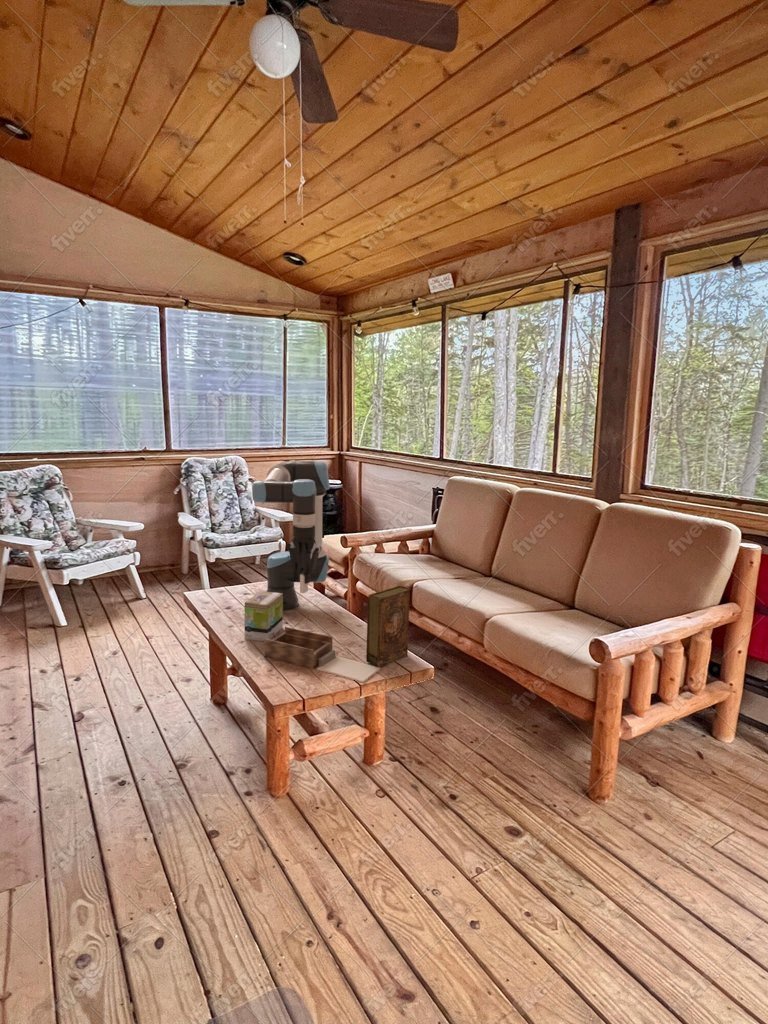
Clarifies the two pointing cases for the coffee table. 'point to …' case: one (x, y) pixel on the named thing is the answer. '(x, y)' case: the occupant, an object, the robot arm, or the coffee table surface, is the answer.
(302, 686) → the coffee table surface
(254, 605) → the tea box
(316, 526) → the robot arm
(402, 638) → the book
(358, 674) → the cover plate
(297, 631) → the walnut box
